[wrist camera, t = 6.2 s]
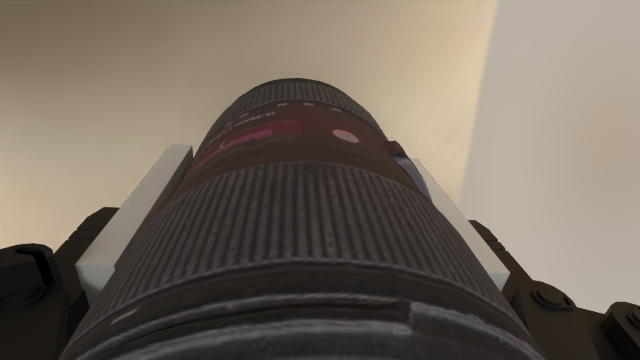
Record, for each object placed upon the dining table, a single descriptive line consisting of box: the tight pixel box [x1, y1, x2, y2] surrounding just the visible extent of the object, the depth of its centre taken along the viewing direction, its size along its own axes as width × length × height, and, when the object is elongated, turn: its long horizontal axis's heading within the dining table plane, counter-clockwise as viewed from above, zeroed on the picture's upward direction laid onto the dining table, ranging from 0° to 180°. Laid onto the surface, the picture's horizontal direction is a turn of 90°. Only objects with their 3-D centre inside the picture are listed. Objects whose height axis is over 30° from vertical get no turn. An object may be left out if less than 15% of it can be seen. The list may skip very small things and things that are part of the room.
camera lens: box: [58, 78, 547, 360], centre depth 11 cm, size 8×8×15 cm
